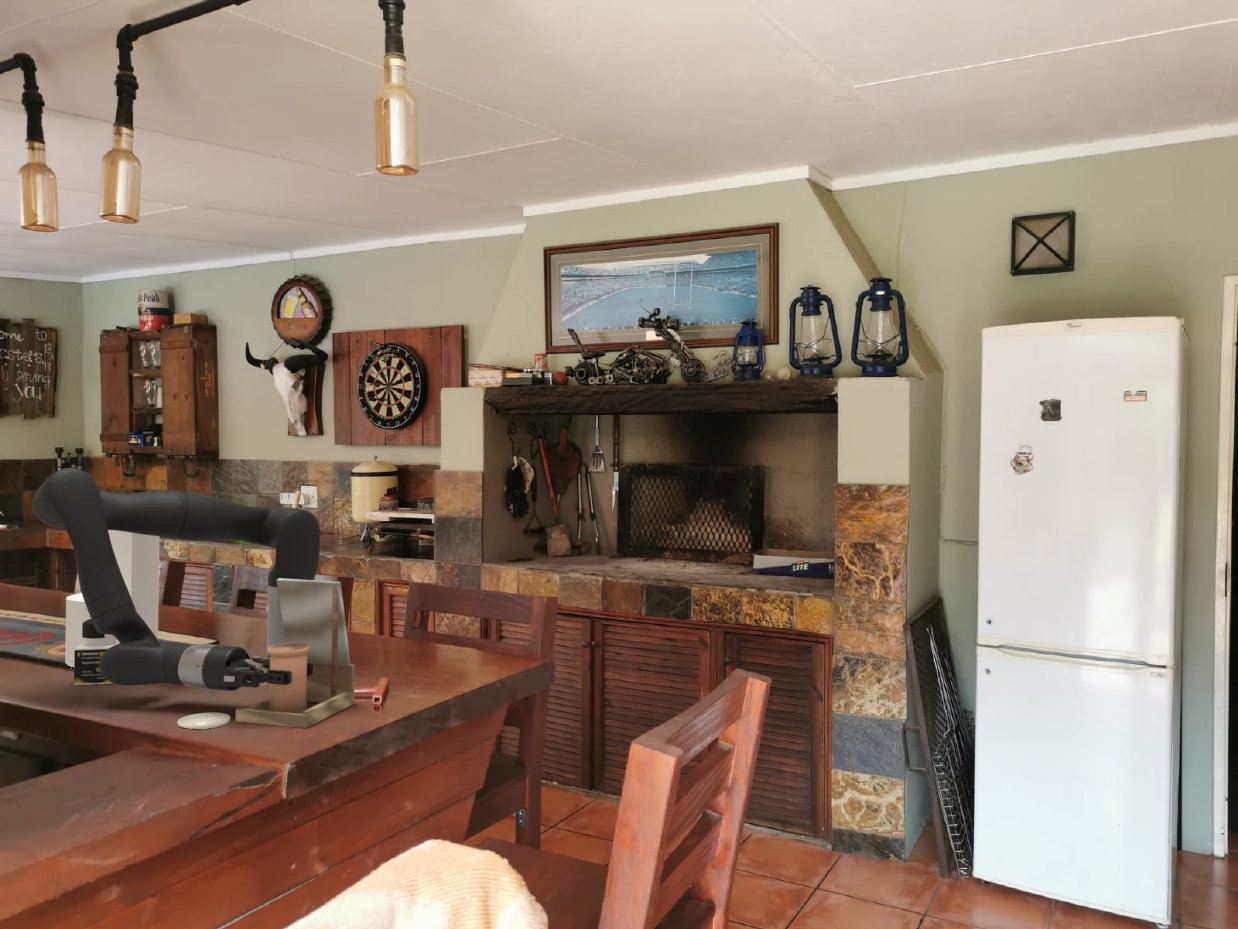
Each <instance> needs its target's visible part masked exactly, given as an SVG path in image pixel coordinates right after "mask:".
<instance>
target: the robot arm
mask: <svg viewBox="0 0 1238 929" xmlns="http://www.w3.org/2000/svg"><path fill="white" fill-rule="evenodd" d="M31 508H32V509H31V510H32V512H33V514H34V515H35V517H36V518H37V519H38V520H39V521H40V522H42V524H45V525H47V526H49V527H52V528H56V529H60V530H63V529H64V530H65V531H66V533H67V535H68V537H69V540H70V543H71V545H72V546H71V547H72V549H73V554H74V558H75V563H76V569H77V577H78V582H79V587H80V593H82V596H83V599H84V602H85V604H86V607H87V610H88V612H89V615H90V617H91V620H92V622H93V624H94V627H95V629H96V630H97V631H98V632H99V633H101V634H110V635H113V636H115V638H116V639H117V640H118V641H119V643H120V644H117V645H114V646H112V647H110V648H109V649H108V650H106V651H105V652H104V654H103V655H102V657H101V659H100V665H99V666H100V671H101V673H102V675H103V676H104V677H105V678H106V679H107V680H108V681H110V682H112V683H114V685H119V686H144V685H145V686H147V685H155V684H156V685H157V684H167V685H173V686H187V687H192V688H197V689H202V690H203V689H204V690H205V689H206V690H215V691H227V692H228V691H229V692H234V691H237V690H239V689H240V688H242V687H244V688H245V687H246V688H254V689H255V688H258V687H260V685H261V686H262V685H263V686H267V685H269V684H280V685H288V684H291V682H292V673H291V672H290V671H284V670H270V656H268V655H267V654H268V646H270V645H274V644H279V643H285V636H284V629H283V622H282V615H281V608H280V601H279V594H278V587H277V579H279V578H283V579H301V580H316V579H315V578H316V575H317V573H318V570H319V564H320V563H319V562H320V551H321V550H320V548H321V546H320V545H321V531H320V530H321V529H320V524H319V521H318V518H317V517H316V516H315V514H314V513H312V512H311V511H309V510H307V509H302V508H296V507H287V506H286V507H285V506H284V507H283V506H282V507H273V506H272V507H270V506H269V507H266V506H265V507H264V506H251V505H244V504H240V503H236V502H233V501H229V500H226V499H222V498H218V497H215V496H212V495H206V494H201V493H195V492H188V491H181V490H153V491H143V492H132V493H119V492H117V493H116V492H109V491H103V490H100V488H99V486H98V483H97V482H96V480H95V478H93V476H91V474H89V473H88V472H87V471H85V470H82V469H81V468H80V469H79V468H75V467H65V468H61V469H58V470H56V471H55V472H53V473H52V474H51V475H49V476H48V477H47V478H46V479H45V481H44V482H43V483H42V484H41V485H40V486H39V487H38V489H37V490H36V492H35V494H34V495H33V497H32V501H31ZM108 530H115V531H124V532H130V533H137V534H144V535H152V536H160V538H165V539H166V538H168V539H173V540H174V539H175V540H184V541H192V542H224V541H225V542H226V541H237V542H238V541H239V542H245V543H250V544H255V545H261V546H265V547H268V548H272V549H275V555H274V556H275V557H274V558H275V559H274V565H273V566H272V569H271V570H270V571H269V572H268V575H267V610H266V611H267V615H266V618H267V620H266V621H267V622H266V625H267V627H266V629H267V630H266V657H263V656H260V655H257V656H252V657H250V656H249V654H248V652H247V650H246V649H245V648H243V647H242V646H235V645H222V644H207V643H206V644H205V643H204V644H203V643H200V644H189V643H187V644H186V643H169V644H165V645H161V643H160V641H159V638H158V639H157V638H156V636H155V635H154V633H153V632H152V631H151V629H150V628H149V627H148V626H147V624H146V623H145V621H144V620H143V619H142V618H141V617H140V615H139V614H138V613H137V611H136V609H135V606H134V605H133V604H134V603H133V601H132V598H131V596H130V593H129V591H128V589H127V586H126V584H125V581H124V579H123V576H122V574H121V571H120V568H119V566H118V563H117V560H116V557H115V554H114V551H113V547H112V544H111V540H110V536H109V533H108ZM312 674H313V664H312V663H308V662H307V676H310V675H312Z"/></svg>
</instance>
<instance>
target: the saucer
mask: <svg viewBox="0 0 1238 929" xmlns="http://www.w3.org/2000/svg"><path fill="white" fill-rule="evenodd" d="M230 722H231V716H230V715H229V714H228V713H223V712H201V713H199V712H198V713H194V714H189V715H185V716H183V717H180V718H179V719H177V724H178V726H181V727H184V728H190V729H192V728H193V729H202V730H209V728H211V729H216V728H219V726H220V727H223V726H227V724H229V723H230ZM177 724H176V725H177ZM178 726H177V727H178Z"/></svg>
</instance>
